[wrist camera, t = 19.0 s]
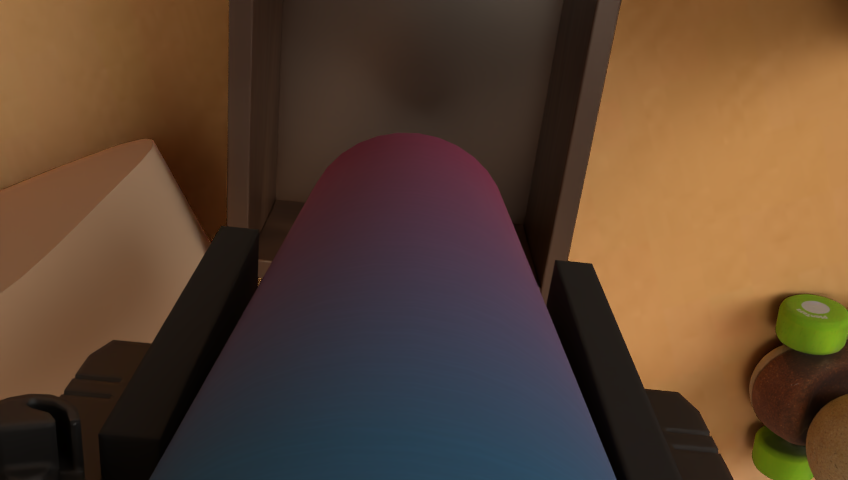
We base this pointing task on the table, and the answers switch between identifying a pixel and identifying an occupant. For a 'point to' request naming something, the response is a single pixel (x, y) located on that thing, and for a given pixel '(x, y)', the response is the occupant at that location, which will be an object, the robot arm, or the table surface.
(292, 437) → the cup
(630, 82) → the table surface
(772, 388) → the toy car
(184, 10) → the table surface
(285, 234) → the walnut box
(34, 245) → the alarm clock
